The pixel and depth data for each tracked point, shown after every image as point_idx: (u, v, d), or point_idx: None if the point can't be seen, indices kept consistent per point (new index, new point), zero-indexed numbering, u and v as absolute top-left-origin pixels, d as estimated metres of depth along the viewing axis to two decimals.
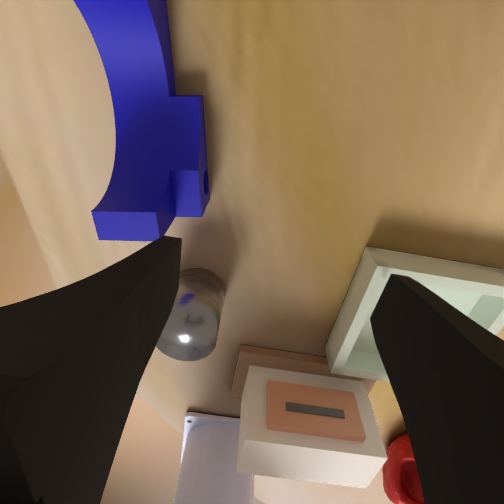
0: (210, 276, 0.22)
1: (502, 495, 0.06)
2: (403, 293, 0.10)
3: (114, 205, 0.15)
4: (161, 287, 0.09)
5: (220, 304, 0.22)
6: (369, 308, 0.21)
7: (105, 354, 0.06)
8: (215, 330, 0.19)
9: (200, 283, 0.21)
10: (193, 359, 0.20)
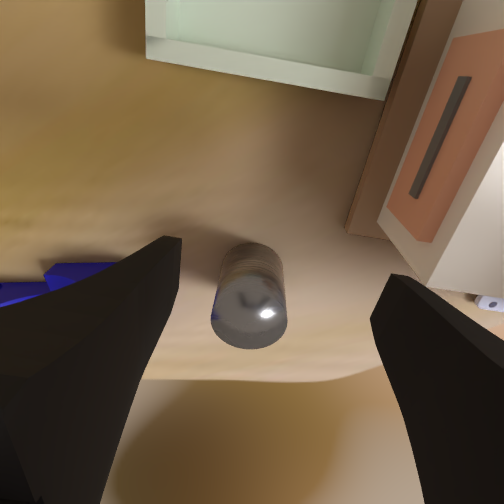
0: (225, 259, 0.20)
1: (502, 495, 0.06)
2: (403, 293, 0.10)
3: None
4: (161, 287, 0.09)
5: (242, 261, 0.18)
6: (228, 52, 0.12)
7: (106, 354, 0.06)
8: (239, 288, 0.16)
9: None
10: (284, 316, 0.16)
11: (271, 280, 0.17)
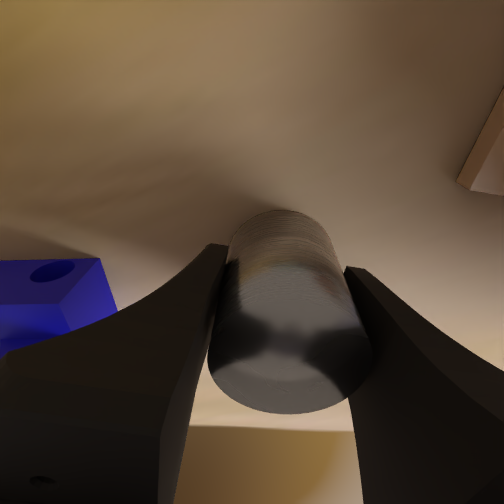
0: (234, 239, 0.11)
1: (420, 484, 0.06)
2: (354, 285, 0.09)
3: None
4: (216, 296, 0.09)
5: (271, 239, 0.09)
6: None
7: (191, 367, 0.06)
8: (273, 292, 0.07)
9: None
10: (367, 355, 0.07)
11: (334, 276, 0.08)
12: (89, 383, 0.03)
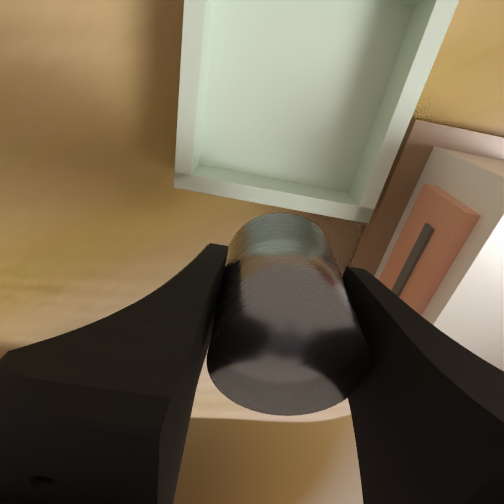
0: (234, 242, 0.11)
1: (420, 484, 0.06)
2: (354, 285, 0.09)
3: None
4: (215, 296, 0.09)
5: (270, 243, 0.09)
6: (241, 186, 0.15)
7: (191, 367, 0.06)
8: (271, 296, 0.07)
9: (224, 273, 0.10)
10: (365, 357, 0.07)
11: (332, 279, 0.08)
12: (88, 383, 0.03)
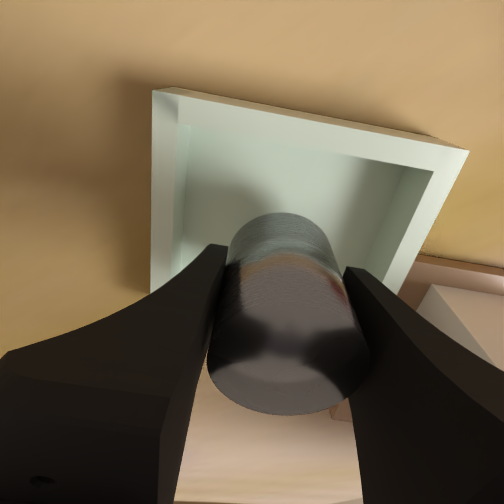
0: (234, 241, 0.11)
1: (420, 484, 0.06)
2: (354, 285, 0.09)
3: None
4: (216, 296, 0.09)
5: (270, 242, 0.09)
6: None
7: (191, 367, 0.06)
8: (271, 296, 0.07)
9: None
10: (365, 357, 0.07)
11: (332, 279, 0.08)
12: (89, 383, 0.03)
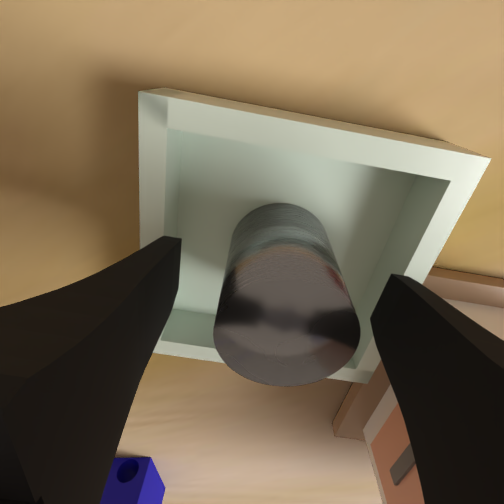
0: (236, 230, 0.12)
1: (502, 495, 0.06)
2: (403, 293, 0.10)
3: None
4: (161, 287, 0.09)
5: (270, 229, 0.10)
6: None
7: (106, 354, 0.06)
8: (271, 273, 0.08)
9: (227, 258, 0.11)
10: (356, 329, 0.08)
11: (327, 260, 0.09)
12: None
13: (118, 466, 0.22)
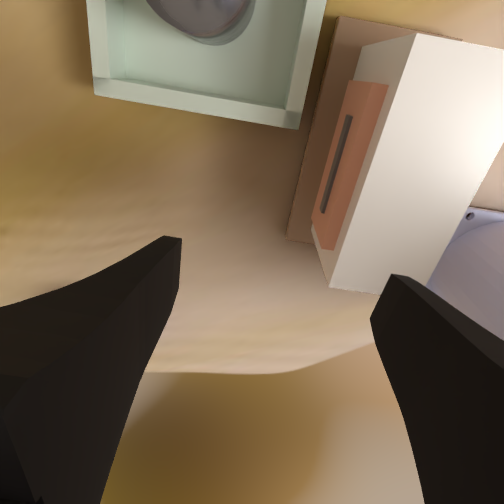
0: None
1: (502, 495, 0.06)
2: (403, 293, 0.10)
3: None
4: (161, 287, 0.09)
5: None
6: (163, 90, 0.15)
7: (106, 354, 0.06)
8: None
9: None
10: None
11: None
12: None
13: None
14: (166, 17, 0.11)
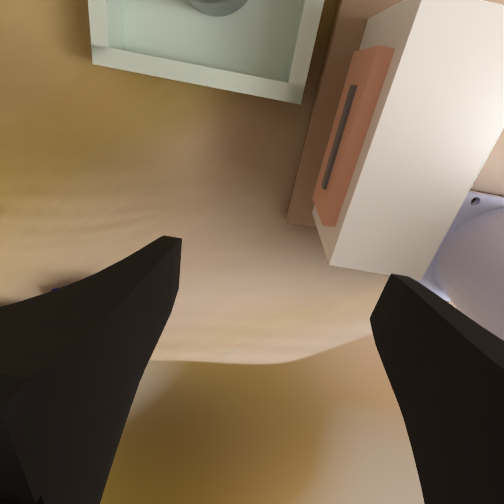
0: None
1: (502, 495, 0.06)
2: (403, 293, 0.10)
3: None
4: (161, 287, 0.09)
5: None
6: (163, 60, 0.14)
7: (106, 354, 0.06)
8: None
9: None
10: None
11: None
12: None
13: None
14: None
